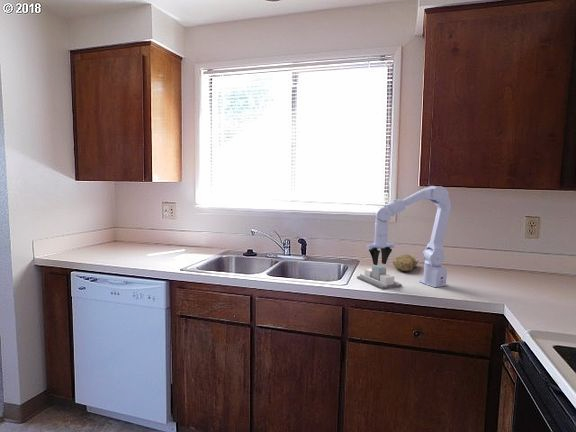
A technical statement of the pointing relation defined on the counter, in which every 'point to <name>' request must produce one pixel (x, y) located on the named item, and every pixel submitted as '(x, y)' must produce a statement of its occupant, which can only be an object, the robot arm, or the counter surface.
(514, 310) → the counter surface
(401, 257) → the sponge
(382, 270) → the module
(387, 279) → the rail board
